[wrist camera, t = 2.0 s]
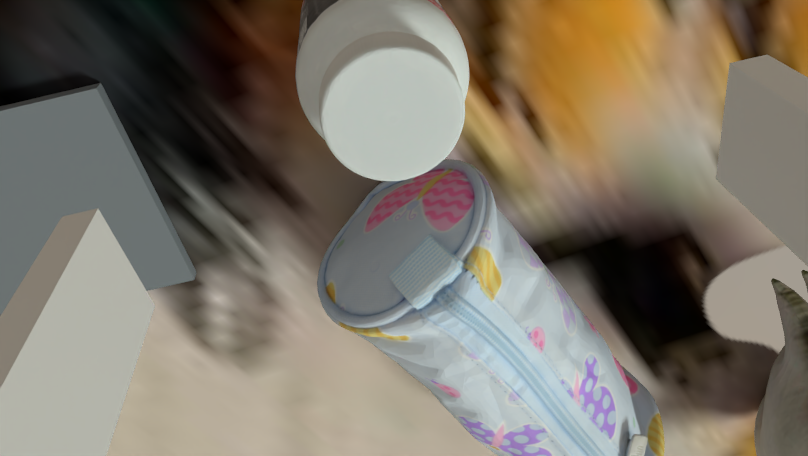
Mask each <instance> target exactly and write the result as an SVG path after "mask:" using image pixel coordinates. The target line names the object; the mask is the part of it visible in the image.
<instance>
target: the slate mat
mask: <svg viewBox="0 0 808 456" xmlns="http://www.w3.org/2000/svg"><path fill="white" fill-rule="evenodd" d="M97 208H98V209H99V211H100V212H101V214H102V216H103V217H104V219H105V221H106V223H107V224H108V226H109V228H110V229H111V231H112V233H113V235H114V236H115V238H116V240H117V241H118V243H119V245H120V247H121V248H122V250H123V252H124V253H125V255H126V257H127V258H128V260H129V262H130V264H131V265H132V267H133V269H134V270H135V272H136V274H137V276H138V277H139V279H140V281H141V282H142V284H143V286H144V287H145V289H146V291H148V290H152V289H157V288H161V287H165V286H170V285H174V284H178V283H182V282H187V281H191V280H195V276H196V270H195V268H194V266H193V264H192V262H191V260H190V258H189V256H188V254H187V252H186V250H185V248H184V246H183V245H182V243H181V241H180V239H179V237H178V235H177V233H176V231H175V229H174V227H173V225H172V223H171V221H170V219H169V217H168V215H167V213H166V211H165V209H164V207H163V205H162V203H161V201H160V199H159V197H158V195H157V193H156V191H155V189H154V187H153V185H152V183H151V181H150V179H149V177H148V175H147V173H146V171H145V169H144V167H143V165H142V163H141V161H140V159H139V157H138V155H137V153H136V151H135V149H134V148H133V146H132V144H131V142H130V140H129V138H128V136H127V134H126V132H125V130H124V128H123V126H122V124H121V122H120V120H119V118H118V116H117V114H116V112H115V110H114V108H113V106H112V104H111V102H110V100H109V98H108V96H107V94H106V92H105V90H104V88H103V86H102V84H101V83H98V84H93V85H89V86H85V87H81V88H77V89H72V90H68V91H64V92H60V93H55V94H51V95H47V96H43V97H38V98H34V99H30V100H26V101H21V102H17V103H13V104H9V105H5V106H0V316H1V314H2V313H3V311H4V310H5V308H6V306H7V305H8V303H9V301H10V300H11V298H12V297H13V295H14V293H15V292H16V290H17V289H18V287H19V285H20V284H21V282H22V280H23V279H24V277H25V276H26V274H27V272H28V271H29V269H30V268H31V266H32V264H33V263H34V261H35V259H36V258H37V256H38V255H39V253H40V251H41V250H42V248H43V247H44V245H45V243H46V242H47V240H48V239H49V237H50V235H51V234H52V232H53V230H54V229H55V227H56V226H57V224H58V222H59V221H60V219H61V218H62V217H63V216H67V215H71V214H76V213H80V212H84V211H89V210H93V209H97Z"/></svg>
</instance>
